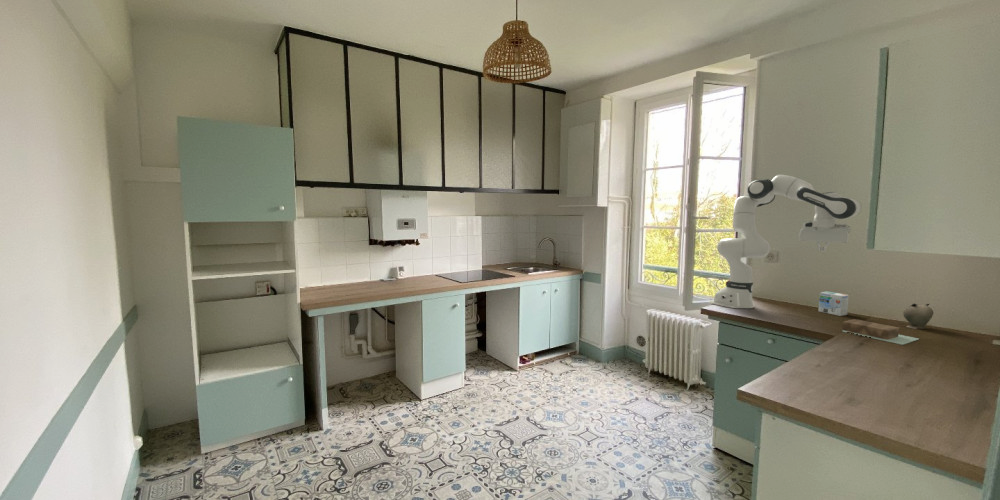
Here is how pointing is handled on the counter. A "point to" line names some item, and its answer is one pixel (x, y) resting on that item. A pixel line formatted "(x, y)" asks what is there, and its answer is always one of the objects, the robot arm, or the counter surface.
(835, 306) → the light bulb box
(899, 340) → the sage board
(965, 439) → the counter surface
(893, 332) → the walnut domino
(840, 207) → the robot arm
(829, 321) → the counter surface
